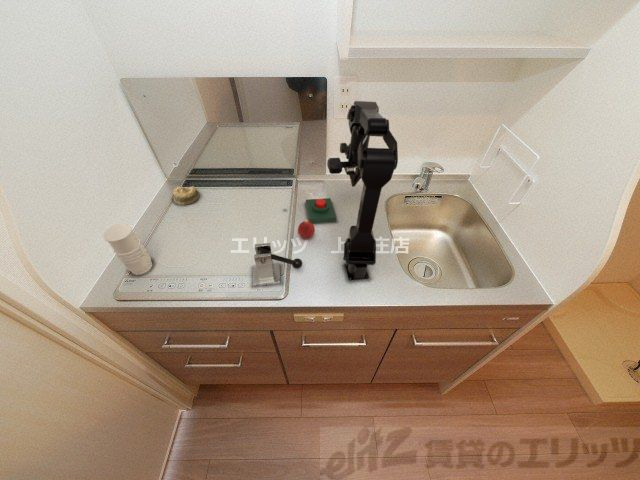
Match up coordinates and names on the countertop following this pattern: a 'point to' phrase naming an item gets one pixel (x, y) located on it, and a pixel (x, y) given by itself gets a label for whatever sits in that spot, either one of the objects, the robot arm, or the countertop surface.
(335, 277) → the countertop surface
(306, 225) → the onion
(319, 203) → the button
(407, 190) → the countertop surface
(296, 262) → the lever
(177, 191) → the cake
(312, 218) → the control box
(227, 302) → the countertop surface
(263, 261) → the bracket
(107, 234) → the candle
